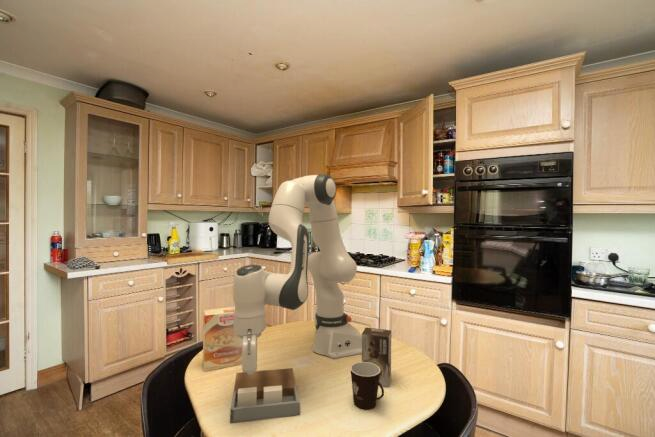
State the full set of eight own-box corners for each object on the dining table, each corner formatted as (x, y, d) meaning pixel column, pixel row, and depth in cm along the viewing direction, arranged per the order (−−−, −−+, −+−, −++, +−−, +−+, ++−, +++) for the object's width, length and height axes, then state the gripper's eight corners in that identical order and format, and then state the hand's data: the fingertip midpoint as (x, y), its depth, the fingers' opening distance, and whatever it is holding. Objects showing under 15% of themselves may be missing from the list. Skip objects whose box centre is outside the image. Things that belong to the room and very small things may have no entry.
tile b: (256, 386, 88) (256, 391, 86) (256, 404, 89) (256, 410, 86) (238, 388, 87) (237, 393, 85) (238, 406, 88) (237, 412, 85)
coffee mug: (347, 395, 95) (348, 362, 95) (375, 394, 96) (376, 361, 95) (354, 420, 83) (354, 382, 83) (386, 418, 84) (386, 381, 84)
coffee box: (391, 378, 105) (392, 330, 105) (388, 387, 99) (389, 337, 99) (364, 373, 108) (365, 326, 108) (360, 382, 102) (361, 333, 102)
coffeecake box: (203, 371, 108) (204, 315, 108) (202, 363, 114) (203, 309, 114) (248, 363, 114) (248, 310, 114) (244, 355, 121) (244, 304, 120)
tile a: (281, 385, 90) (282, 390, 87) (281, 402, 90) (281, 408, 87) (263, 387, 88) (263, 391, 86) (263, 404, 89) (263, 410, 86)
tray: (296, 397, 93) (296, 385, 93) (299, 415, 85) (299, 402, 85) (233, 403, 90) (233, 391, 90) (230, 423, 81) (230, 409, 81)
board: (292, 376, 105) (292, 367, 105) (296, 397, 93) (296, 387, 93) (236, 382, 101) (236, 372, 101) (233, 403, 90) (233, 393, 90)
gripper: (261, 337, 79) (262, 390, 80) (260, 311, 99) (261, 354, 100) (235, 339, 78) (236, 394, 78) (240, 313, 98) (241, 356, 98)
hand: (250, 371), depth 89 cm, fingers closed
